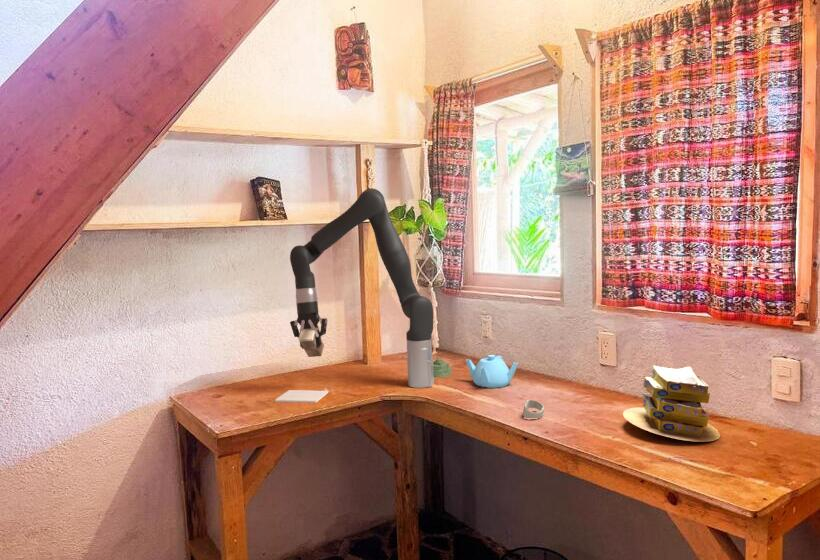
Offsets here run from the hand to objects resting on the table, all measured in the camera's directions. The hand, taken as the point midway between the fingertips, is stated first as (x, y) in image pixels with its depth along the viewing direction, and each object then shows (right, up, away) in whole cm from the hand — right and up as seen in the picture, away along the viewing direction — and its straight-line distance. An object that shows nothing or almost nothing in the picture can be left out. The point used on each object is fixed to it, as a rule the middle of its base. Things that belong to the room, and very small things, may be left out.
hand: (311, 347), depth 222 cm
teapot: (+66, -14, +4) cm, 67 cm away
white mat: (-2, -17, -4) cm, 18 cm away
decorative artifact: (+47, -13, +22) cm, 54 cm away
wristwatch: (+73, -17, -34) cm, 83 cm away
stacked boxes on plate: (+108, -17, -51) cm, 120 cm away
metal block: (+1, -2, +4) cm, 5 cm away
